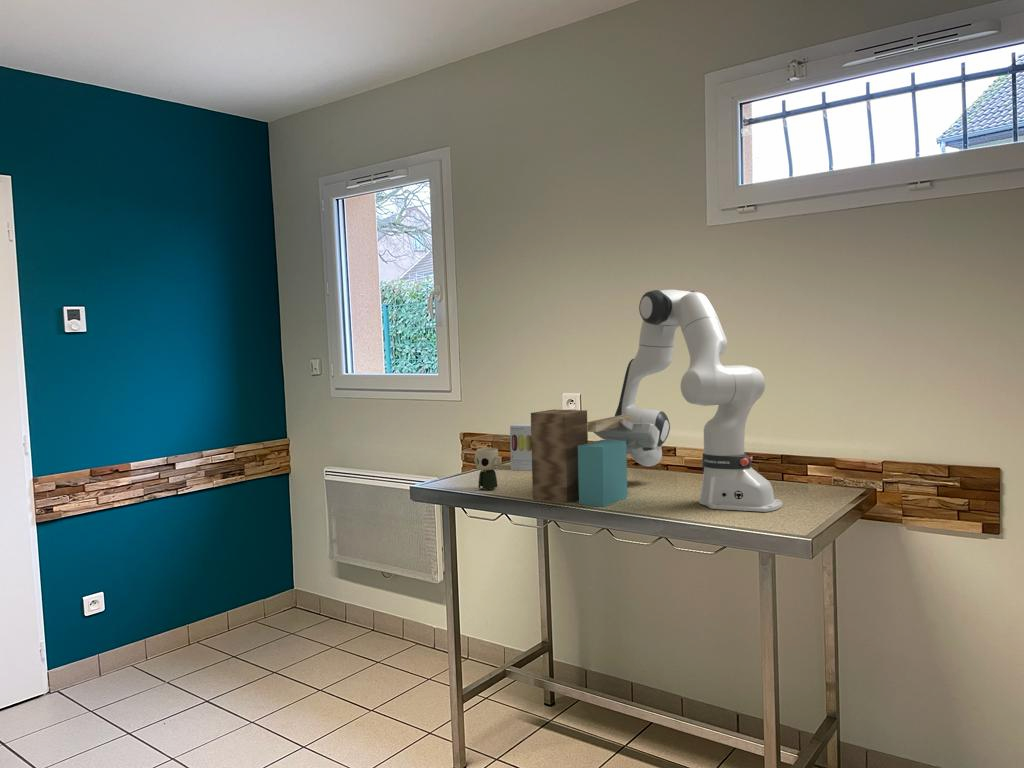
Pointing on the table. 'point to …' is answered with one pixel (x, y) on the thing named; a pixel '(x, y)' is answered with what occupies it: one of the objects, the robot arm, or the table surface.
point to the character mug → (487, 467)
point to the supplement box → (520, 446)
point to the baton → (607, 423)
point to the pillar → (557, 453)
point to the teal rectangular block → (602, 472)
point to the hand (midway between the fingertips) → (614, 420)
